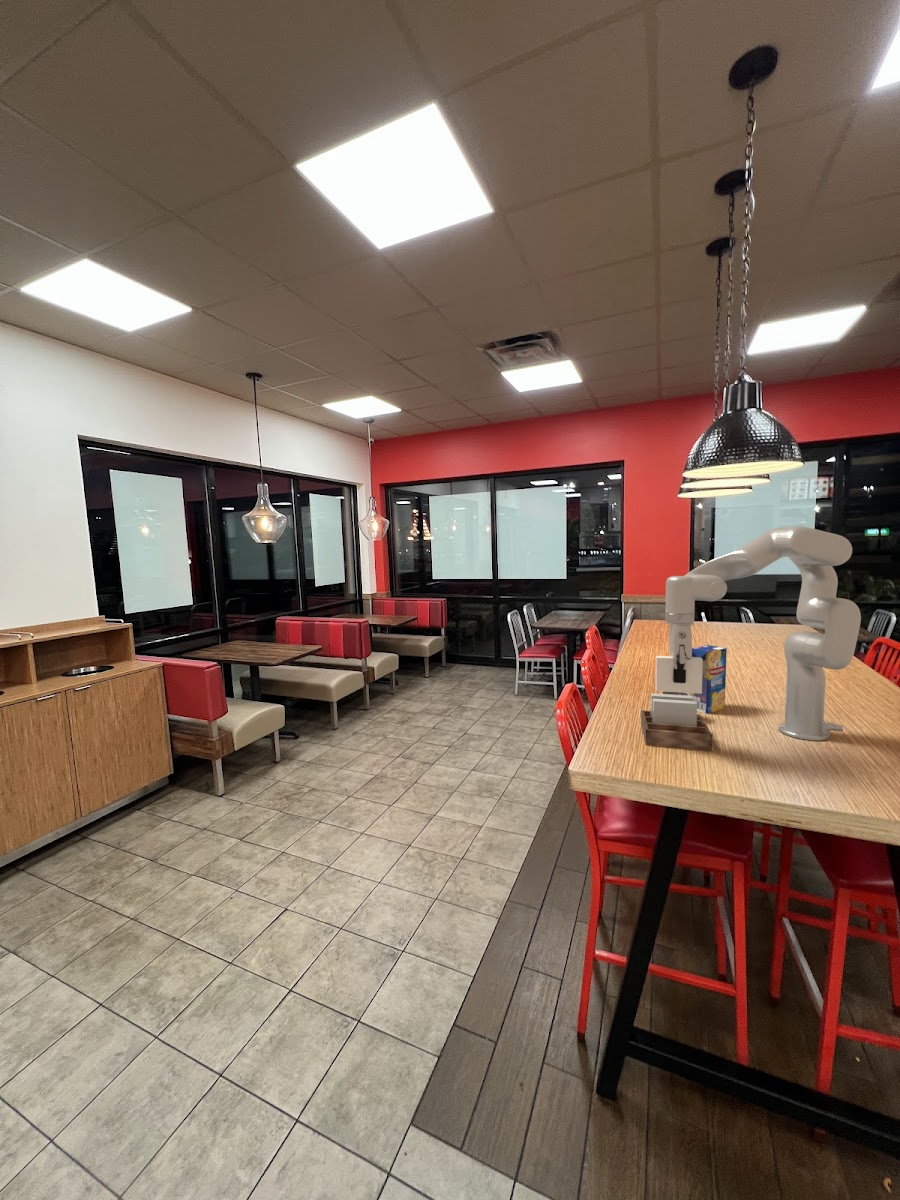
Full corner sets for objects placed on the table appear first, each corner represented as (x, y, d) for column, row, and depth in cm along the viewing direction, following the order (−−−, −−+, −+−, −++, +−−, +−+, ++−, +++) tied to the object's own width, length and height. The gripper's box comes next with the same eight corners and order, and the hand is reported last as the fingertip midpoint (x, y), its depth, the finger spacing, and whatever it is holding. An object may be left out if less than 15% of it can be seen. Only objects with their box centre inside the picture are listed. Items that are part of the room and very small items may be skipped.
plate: (699, 690, 139) (700, 657, 138) (701, 693, 136) (702, 659, 135) (655, 688, 142) (655, 655, 141) (656, 691, 140) (656, 657, 139)
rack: (699, 728, 152) (699, 714, 152) (712, 750, 135) (712, 735, 134) (640, 723, 157) (640, 710, 157) (645, 744, 140) (645, 729, 140)
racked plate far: (691, 726, 151) (691, 695, 150) (692, 729, 148) (693, 698, 147) (650, 723, 155) (650, 693, 154) (651, 726, 152) (651, 695, 151)
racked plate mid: (694, 733, 145) (695, 701, 145) (696, 736, 143) (697, 704, 142) (652, 729, 149) (652, 698, 148) (653, 732, 146) (653, 701, 145)
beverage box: (724, 708, 171) (726, 647, 169) (706, 713, 165) (708, 651, 163) (706, 703, 177) (708, 645, 175) (688, 708, 171) (689, 648, 169)
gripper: (699, 623, 128) (698, 689, 130) (688, 615, 144) (687, 674, 145) (669, 622, 130) (668, 688, 132) (662, 615, 146) (661, 673, 148)
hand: (678, 680), depth 139 cm, fingers closed on plate, 2 cm apart
